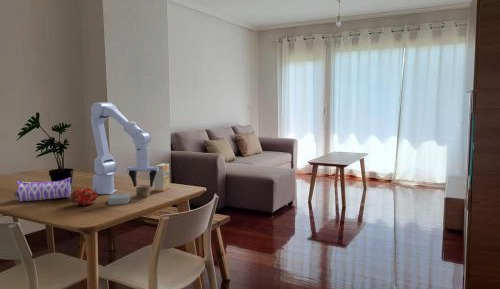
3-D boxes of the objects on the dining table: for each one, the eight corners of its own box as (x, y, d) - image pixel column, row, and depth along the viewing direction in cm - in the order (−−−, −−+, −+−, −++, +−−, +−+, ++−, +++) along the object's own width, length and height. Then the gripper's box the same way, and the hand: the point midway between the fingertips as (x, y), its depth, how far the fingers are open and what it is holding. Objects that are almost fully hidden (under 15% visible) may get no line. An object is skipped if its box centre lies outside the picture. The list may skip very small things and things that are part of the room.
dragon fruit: (67, 210, 157) (96, 209, 165) (74, 202, 151) (103, 201, 159) (66, 192, 160) (94, 192, 168) (72, 183, 155) (101, 183, 163)
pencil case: (14, 204, 161) (13, 182, 160) (19, 198, 169) (18, 178, 168) (71, 199, 169) (70, 179, 168) (72, 195, 177) (72, 175, 176)
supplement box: (163, 191, 185) (163, 165, 184) (154, 191, 186) (154, 165, 185) (170, 188, 193) (169, 163, 192) (161, 187, 194) (161, 162, 193)
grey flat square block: (108, 205, 161) (108, 198, 161) (111, 200, 169) (111, 194, 168) (127, 204, 162) (127, 197, 162) (129, 199, 170) (129, 193, 170)
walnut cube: (136, 197, 173) (136, 187, 173) (139, 195, 178) (139, 184, 178) (147, 197, 173) (147, 187, 173) (150, 195, 178) (149, 185, 178)
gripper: (124, 159, 170) (125, 188, 171) (156, 159, 170) (156, 188, 171) (129, 157, 177) (129, 184, 178) (159, 157, 177) (160, 185, 178)
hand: (143, 186), depth 175 cm, fingers open, 7 cm apart
